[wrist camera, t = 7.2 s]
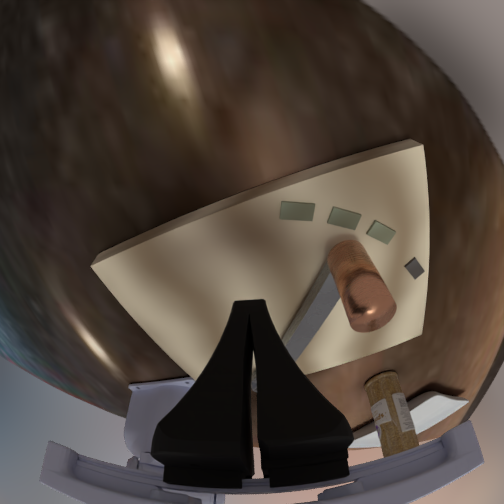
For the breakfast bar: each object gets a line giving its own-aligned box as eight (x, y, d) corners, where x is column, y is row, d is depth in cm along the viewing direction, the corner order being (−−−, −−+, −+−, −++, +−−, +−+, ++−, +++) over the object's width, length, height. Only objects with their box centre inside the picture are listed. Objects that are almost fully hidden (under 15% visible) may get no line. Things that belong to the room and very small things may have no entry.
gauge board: (210, 381, 27) (209, 395, 26) (98, 253, 18) (89, 267, 16) (415, 323, 23) (422, 335, 22) (410, 138, 14) (424, 145, 12)
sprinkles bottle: (360, 380, 29) (384, 481, 18) (394, 365, 28) (426, 465, 16) (368, 392, 31) (389, 481, 20) (399, 378, 30) (426, 466, 19)
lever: (247, 381, 24) (248, 431, 20) (330, 229, 15) (361, 291, 11) (277, 384, 25) (281, 432, 20) (372, 242, 16) (409, 301, 11)
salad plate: (333, 434, 42) (336, 449, 39) (429, 379, 32) (436, 396, 30) (390, 434, 49) (393, 446, 46) (465, 388, 39) (470, 401, 36)
